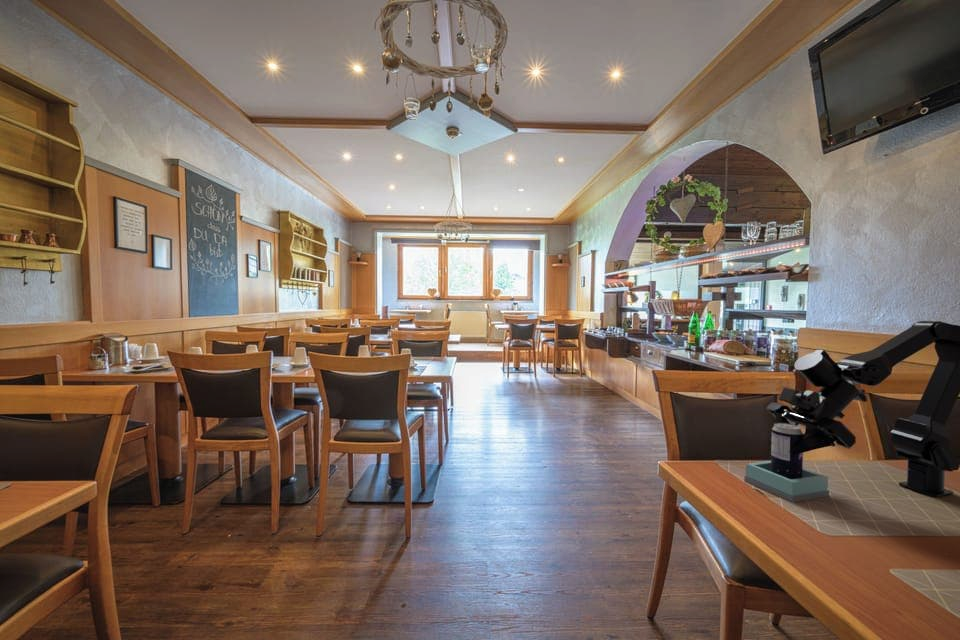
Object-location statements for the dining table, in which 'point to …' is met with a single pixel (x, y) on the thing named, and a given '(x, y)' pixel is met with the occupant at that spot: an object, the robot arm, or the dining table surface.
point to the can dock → (787, 482)
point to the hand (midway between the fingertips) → (780, 448)
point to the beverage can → (786, 451)
